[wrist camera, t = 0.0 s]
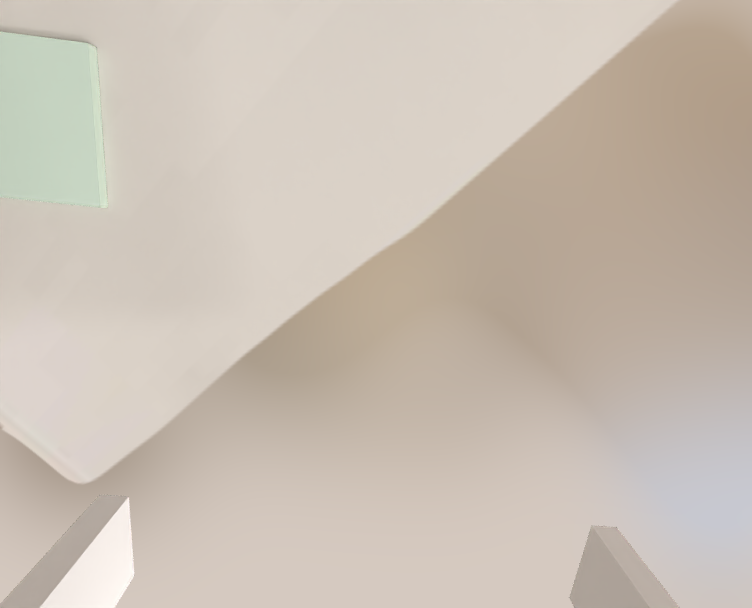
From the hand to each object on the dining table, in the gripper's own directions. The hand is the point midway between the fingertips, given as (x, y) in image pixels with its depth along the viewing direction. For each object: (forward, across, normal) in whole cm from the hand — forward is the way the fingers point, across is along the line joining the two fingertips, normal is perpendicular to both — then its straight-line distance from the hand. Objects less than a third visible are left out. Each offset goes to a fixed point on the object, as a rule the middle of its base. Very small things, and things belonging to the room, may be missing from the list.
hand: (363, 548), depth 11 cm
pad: (+28, -30, +13) cm, 43 cm away
